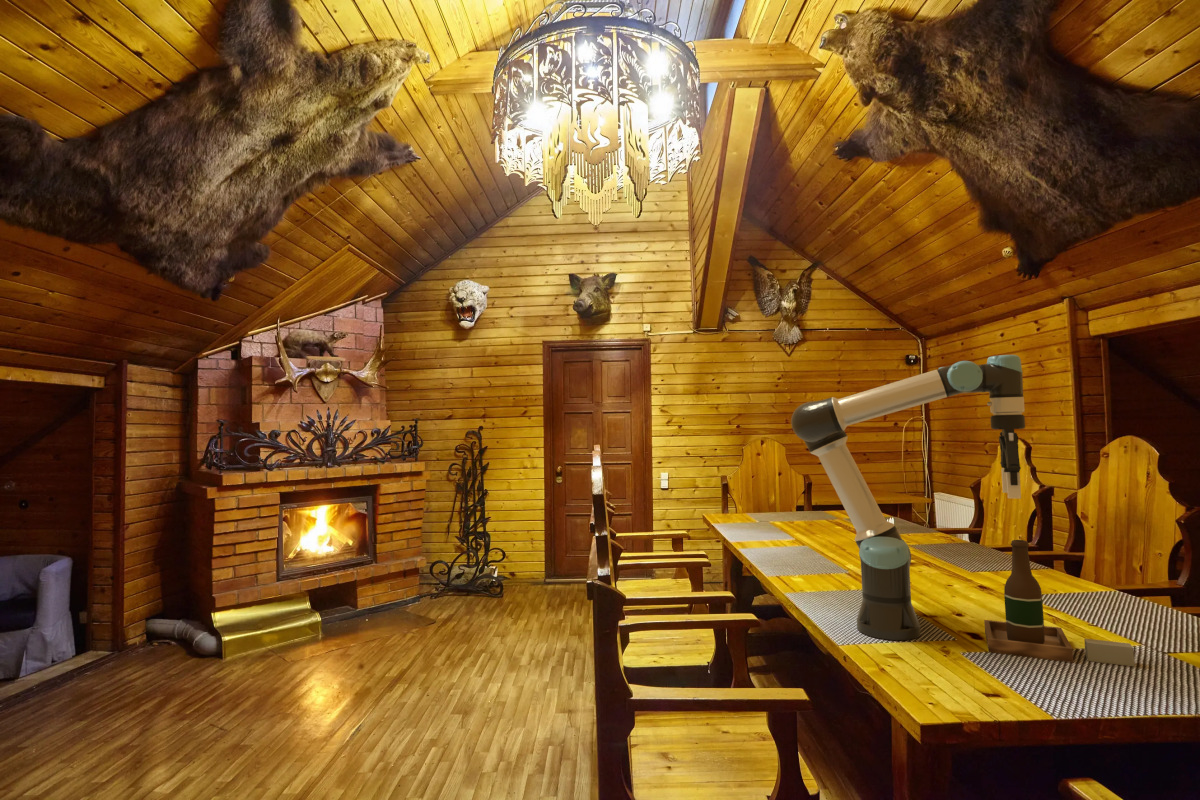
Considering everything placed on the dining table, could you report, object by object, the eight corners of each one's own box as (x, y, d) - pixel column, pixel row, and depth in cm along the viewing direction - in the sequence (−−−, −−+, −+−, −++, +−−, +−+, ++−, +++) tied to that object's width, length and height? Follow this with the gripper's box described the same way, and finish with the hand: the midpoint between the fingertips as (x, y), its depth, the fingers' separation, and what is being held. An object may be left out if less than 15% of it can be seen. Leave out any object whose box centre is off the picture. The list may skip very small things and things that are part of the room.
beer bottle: (999, 639, 150) (993, 540, 151) (1019, 634, 154) (1012, 536, 155) (1033, 649, 143) (1026, 544, 144) (1053, 643, 147) (1046, 541, 148)
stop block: (1088, 660, 138) (1086, 642, 138) (1085, 656, 141) (1084, 638, 141) (1134, 666, 134) (1133, 647, 135) (1130, 661, 137) (1129, 643, 137)
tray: (988, 652, 145) (987, 639, 145) (985, 631, 159) (984, 619, 159) (1073, 662, 138) (1072, 648, 138) (1061, 640, 151) (1061, 627, 152)
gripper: (986, 414, 175) (990, 490, 174) (994, 414, 153) (998, 500, 152) (1018, 413, 172) (1022, 490, 171) (1030, 413, 150) (1035, 501, 149)
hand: (1011, 495), depth 162 cm, fingers open, 13 cm apart
